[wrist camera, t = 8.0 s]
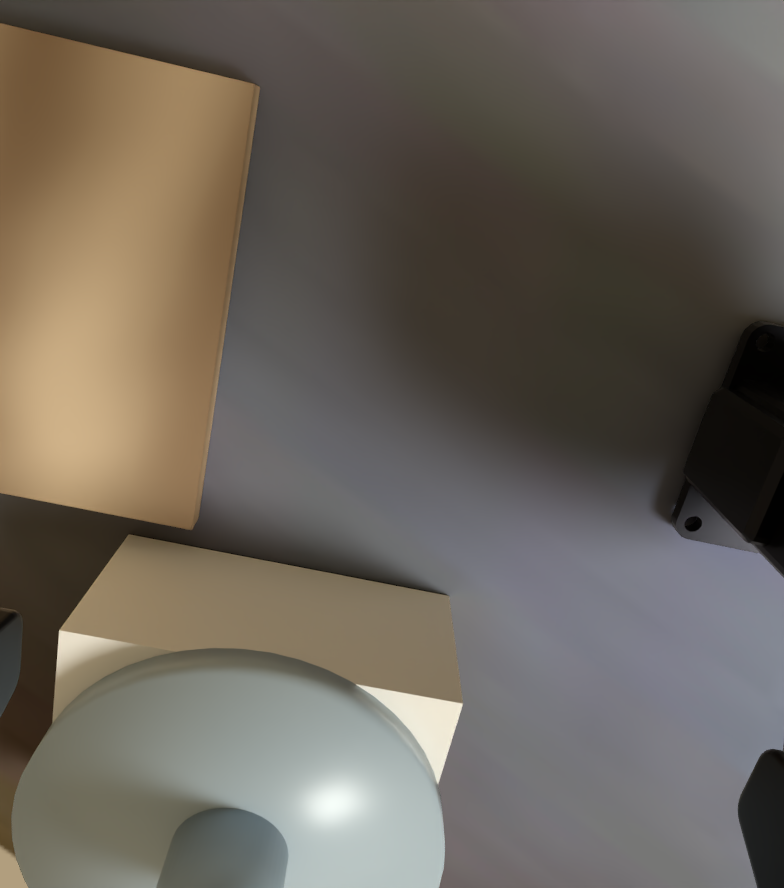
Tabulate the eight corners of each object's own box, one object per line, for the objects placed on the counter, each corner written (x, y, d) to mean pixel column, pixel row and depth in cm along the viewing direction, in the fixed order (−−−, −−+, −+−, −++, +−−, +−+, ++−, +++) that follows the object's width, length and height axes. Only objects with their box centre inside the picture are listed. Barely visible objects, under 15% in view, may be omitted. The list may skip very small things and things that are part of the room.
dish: (449, 596, 23) (462, 703, 19) (381, 832, 27) (379, 973, 22) (128, 534, 23) (59, 630, 18) (101, 784, 26) (37, 920, 21)
